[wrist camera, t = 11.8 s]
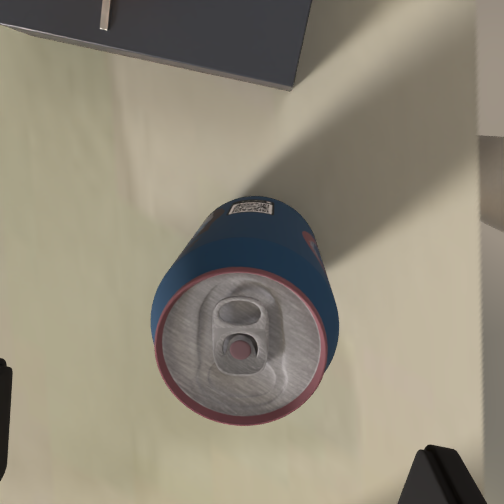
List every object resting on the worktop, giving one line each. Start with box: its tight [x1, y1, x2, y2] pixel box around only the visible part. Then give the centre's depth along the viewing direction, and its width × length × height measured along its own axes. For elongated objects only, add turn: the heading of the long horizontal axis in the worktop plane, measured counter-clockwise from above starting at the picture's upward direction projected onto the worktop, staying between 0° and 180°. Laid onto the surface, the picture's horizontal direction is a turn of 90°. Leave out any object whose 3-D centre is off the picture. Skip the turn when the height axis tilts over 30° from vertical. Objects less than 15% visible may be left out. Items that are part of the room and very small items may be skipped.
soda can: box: [151, 196, 339, 426], centre depth 20 cm, size 7×7×12 cm
